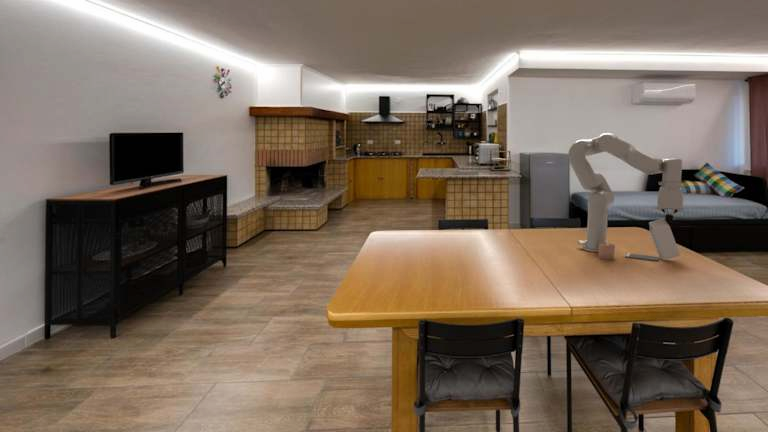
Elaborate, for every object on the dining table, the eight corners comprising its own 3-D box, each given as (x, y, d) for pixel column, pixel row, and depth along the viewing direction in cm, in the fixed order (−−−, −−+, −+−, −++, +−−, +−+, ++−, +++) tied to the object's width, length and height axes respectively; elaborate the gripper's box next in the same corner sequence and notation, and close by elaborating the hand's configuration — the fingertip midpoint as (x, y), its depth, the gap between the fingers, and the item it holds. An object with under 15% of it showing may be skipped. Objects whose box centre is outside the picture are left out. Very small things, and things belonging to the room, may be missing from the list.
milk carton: (680, 256, 213) (666, 218, 214) (664, 260, 215) (650, 222, 216) (675, 254, 220) (662, 217, 221) (660, 258, 222) (646, 222, 223)
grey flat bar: (625, 257, 225) (625, 256, 225) (627, 254, 231) (627, 252, 231) (657, 261, 216) (657, 260, 216) (659, 258, 223) (659, 256, 223)
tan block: (596, 258, 223) (597, 244, 222) (599, 255, 228) (600, 242, 227) (612, 260, 219) (613, 246, 218) (615, 257, 224) (616, 244, 223)
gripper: (652, 184, 215) (650, 222, 217) (689, 185, 206) (687, 225, 208) (653, 183, 221) (651, 220, 223) (690, 184, 212) (688, 222, 214)
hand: (668, 222), depth 216 cm, fingers closed
